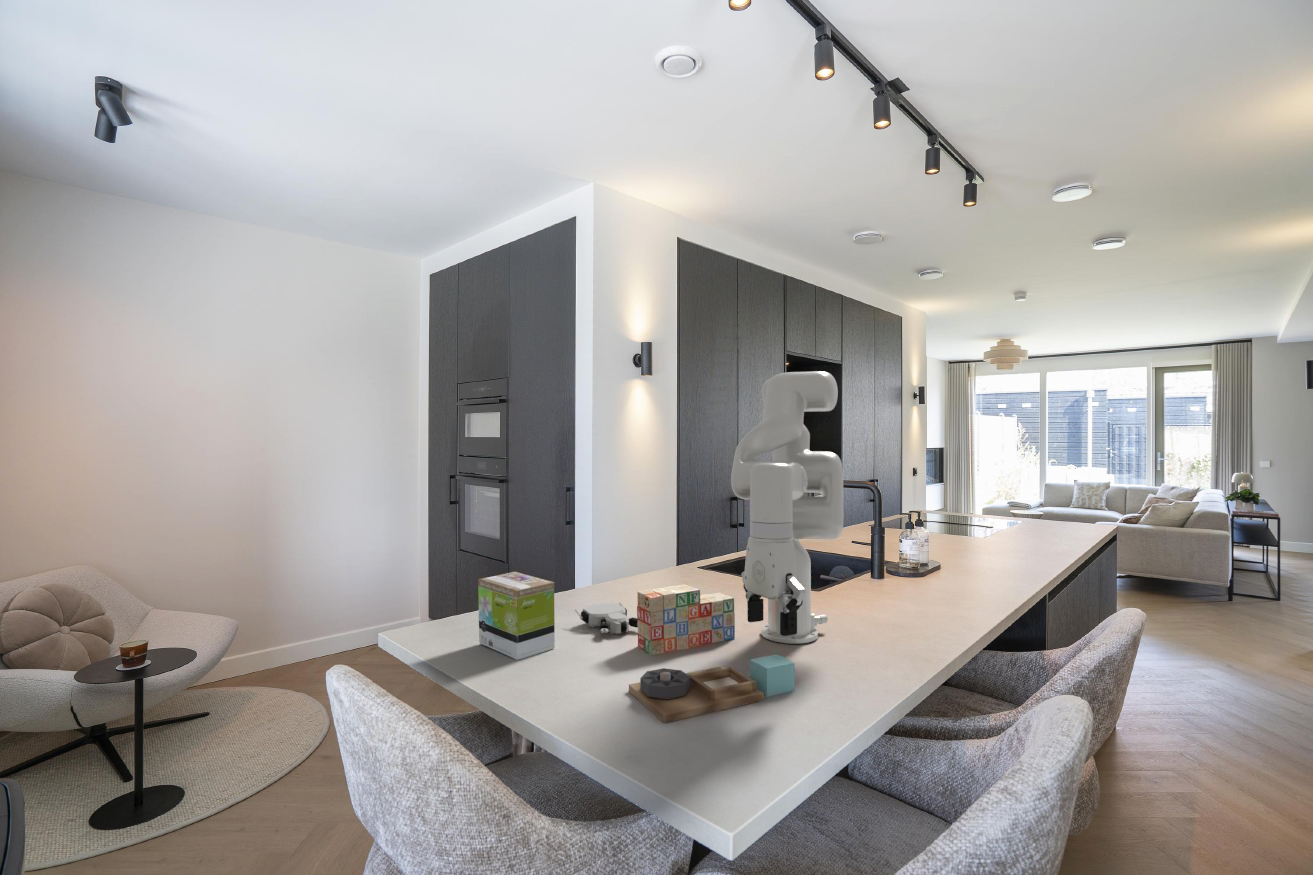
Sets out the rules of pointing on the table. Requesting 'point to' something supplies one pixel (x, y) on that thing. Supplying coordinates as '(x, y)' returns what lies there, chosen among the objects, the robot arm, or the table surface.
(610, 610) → the robot toy
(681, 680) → the wheel
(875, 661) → the table surface
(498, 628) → the tea box
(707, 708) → the chassis
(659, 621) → the stack of blocks
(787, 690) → the teal nearly cubic block
